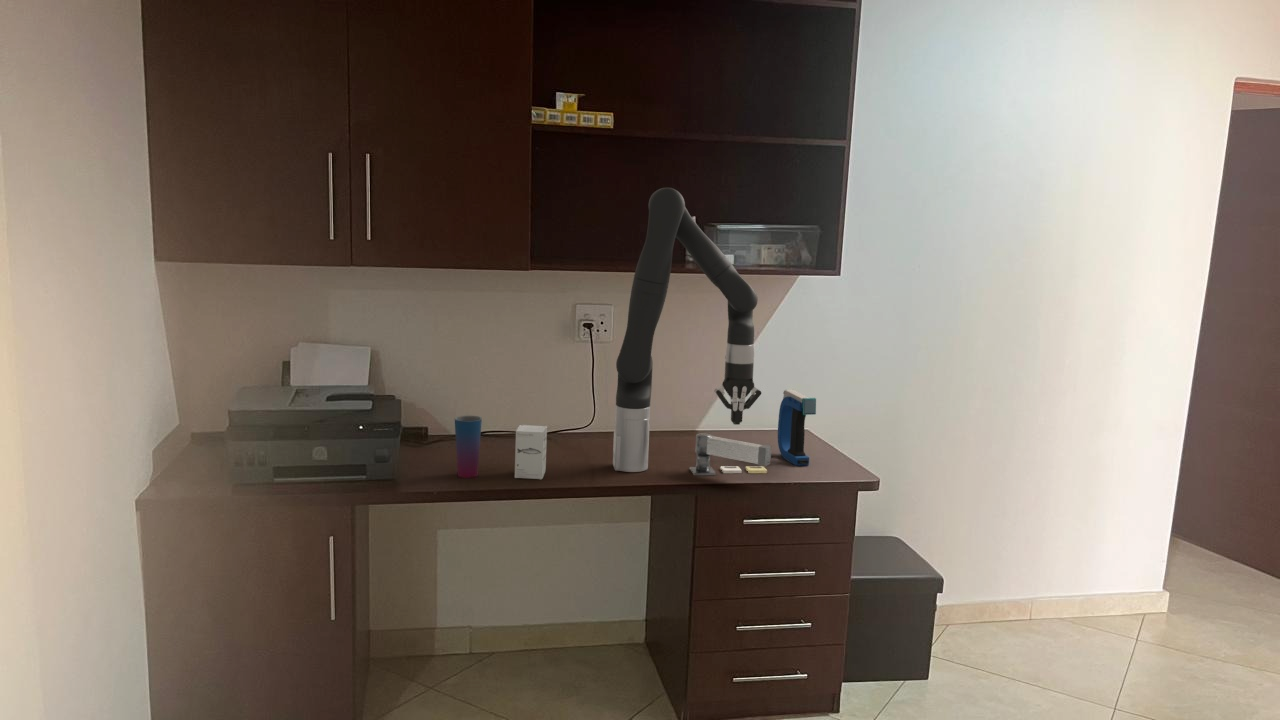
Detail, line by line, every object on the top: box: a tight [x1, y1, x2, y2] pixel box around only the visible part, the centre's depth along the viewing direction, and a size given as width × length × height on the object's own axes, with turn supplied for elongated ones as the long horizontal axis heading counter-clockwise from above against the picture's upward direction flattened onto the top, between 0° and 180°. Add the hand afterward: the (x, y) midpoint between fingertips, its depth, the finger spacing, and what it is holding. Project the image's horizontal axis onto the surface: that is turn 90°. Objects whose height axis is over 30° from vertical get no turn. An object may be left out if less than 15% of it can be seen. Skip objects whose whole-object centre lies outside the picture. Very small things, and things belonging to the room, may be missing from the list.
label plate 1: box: [720, 465, 743, 474], centre depth 253 cm, size 5×4×1 cm
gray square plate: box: [689, 453, 717, 476], centre depth 251 cm, size 6×6×5 cm
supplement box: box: [514, 424, 548, 480], centre depth 241 cm, size 7×7×13 cm
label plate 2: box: [745, 465, 768, 474], centre depth 254 cm, size 5×4×1 cm
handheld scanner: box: [777, 389, 817, 467], centre depth 265 cm, size 5×16×20 cm, turn 15°
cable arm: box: [694, 432, 772, 467], centre depth 245 cm, size 21×4×5 cm, turn 57°
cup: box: [454, 414, 483, 479], centre depth 239 cm, size 7×7×15 cm
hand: (736, 423), depth 251 cm, fingers closed
